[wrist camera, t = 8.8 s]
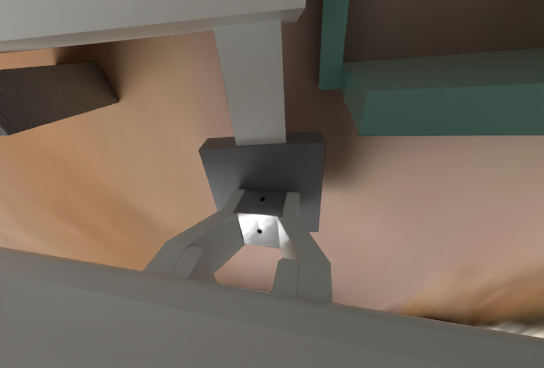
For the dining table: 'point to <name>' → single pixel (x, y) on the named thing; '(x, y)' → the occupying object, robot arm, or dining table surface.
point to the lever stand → (50, 94)
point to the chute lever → (235, 70)
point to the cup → (434, 88)
